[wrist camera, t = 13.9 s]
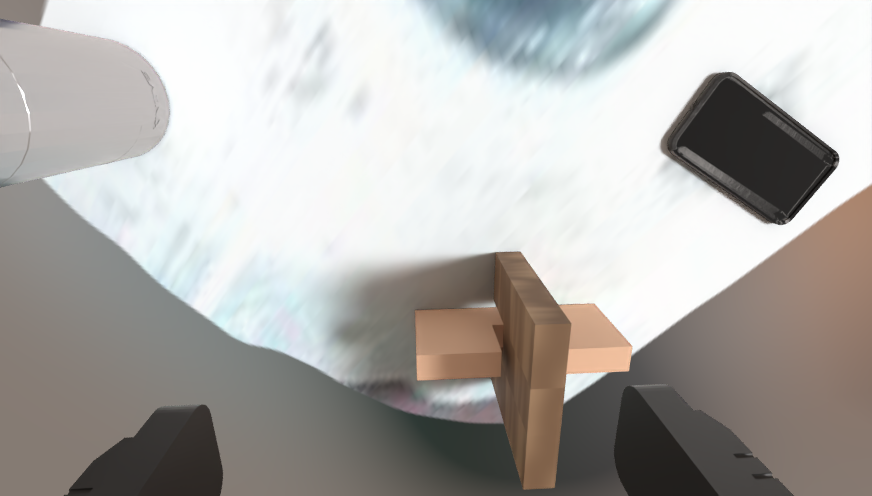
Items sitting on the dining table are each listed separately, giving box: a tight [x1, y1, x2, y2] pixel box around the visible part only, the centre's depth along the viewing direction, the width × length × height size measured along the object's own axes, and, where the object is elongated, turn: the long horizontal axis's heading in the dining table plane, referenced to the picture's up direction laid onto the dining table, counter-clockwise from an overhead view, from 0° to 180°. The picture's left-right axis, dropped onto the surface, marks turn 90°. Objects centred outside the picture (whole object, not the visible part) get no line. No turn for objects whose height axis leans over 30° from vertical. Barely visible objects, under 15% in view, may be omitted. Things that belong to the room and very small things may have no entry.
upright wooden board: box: [491, 252, 572, 490], centre depth 38 cm, size 2×14×14 cm, turn 0°
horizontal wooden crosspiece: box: [415, 304, 632, 381], centre depth 40 cm, size 18×2×8 cm, turn 91°
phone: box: [668, 72, 839, 225], centre depth 40 cm, size 8×1×15 cm
